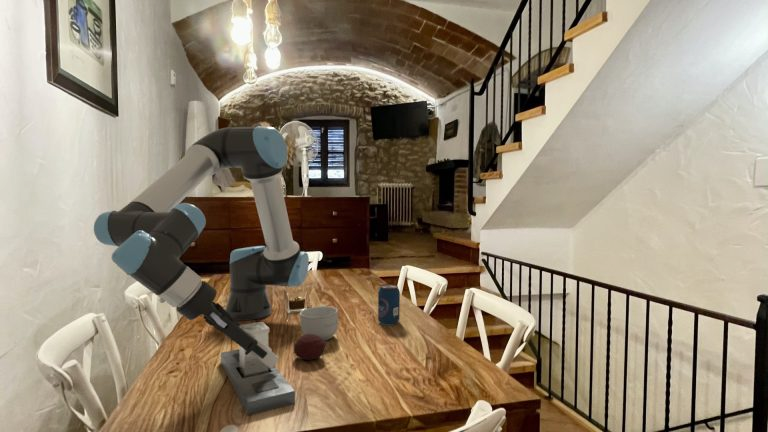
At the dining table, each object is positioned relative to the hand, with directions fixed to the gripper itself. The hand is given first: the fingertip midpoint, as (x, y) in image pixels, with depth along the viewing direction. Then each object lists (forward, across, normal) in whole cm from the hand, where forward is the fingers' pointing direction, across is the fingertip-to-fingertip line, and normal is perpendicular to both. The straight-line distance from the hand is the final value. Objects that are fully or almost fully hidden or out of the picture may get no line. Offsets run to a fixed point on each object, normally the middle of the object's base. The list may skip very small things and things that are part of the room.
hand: (270, 358), depth 91 cm
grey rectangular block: (0, 0, -6) cm, 6 cm away
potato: (+11, -6, +5) cm, 14 cm away
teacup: (+18, -20, +11) cm, 29 cm away
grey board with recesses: (0, 0, -6) cm, 6 cm away
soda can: (+35, -21, +28) cm, 49 cm away
